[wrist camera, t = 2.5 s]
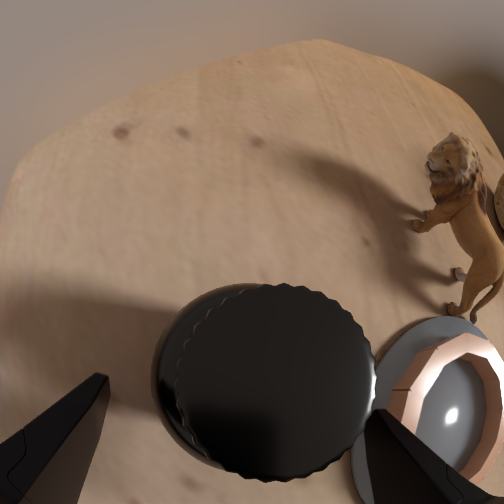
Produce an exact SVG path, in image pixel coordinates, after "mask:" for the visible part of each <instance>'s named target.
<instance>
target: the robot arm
mask: <svg viewBox="0 0 504 504" xmlns="http://www.w3.org/2000/svg"><path fill="white" fill-rule="evenodd" d="M109 399H110V383H109V377H108V375H106V374H102V373H99V372H96V373H94V374H93V375H91V376H90V377H89V378H88V379H86V380H85V381H84V382H82V383H81V384H80V385H78V386H77V387H76V388H74V389H73V390H72V391H70V392H69V393H68V394H67V395H65V396H64V397H63V398H61V399H60V400H59V401H57V402H56V403H55V404H53V405H52V406H51V407H50V408H48V409H47V410H46V411H44V412H43V413H42V414H40V415H39V416H38V417H36V418H35V419H34V420H33V421H31V422H30V423H29V424H27V425H26V426H25V427H24V428H23V429H21V430H19V431H18V432H17V433H15V434H14V435H13V436H11V437H10V438H8V439H7V440H5V441H4V442H2V443H1V444H0V504H77V502H78V499H79V496H80V493H81V490H82V487H83V484H84V481H85V478H86V475H87V472H88V469H89V467H90V464H91V461H92V458H93V455H94V452H95V450H96V447H97V444H98V442H99V439H100V435H101V431H102V427H103V423H104V419H105V415H106V411H107V407H108V403H109ZM364 441H365V451H366V461H367V467H368V472H369V477H370V482H371V488H372V493H373V498H374V504H504V497H497V496H493V495H490V494H488V493H486V492H485V491H483V490H482V489H480V488H479V487H478V486H476V485H475V484H473V483H472V482H470V481H469V480H467V479H466V478H465V477H463V476H462V475H461V474H459V473H458V472H457V471H456V470H454V469H453V468H452V467H451V466H450V465H449V464H447V463H446V462H445V461H444V460H443V459H442V458H440V457H439V456H438V455H437V454H436V453H435V452H434V451H432V450H431V449H430V448H429V447H428V446H427V445H426V444H424V443H423V442H422V441H421V440H420V439H419V438H418V437H417V436H415V435H414V434H413V433H412V432H411V431H410V430H409V429H407V428H406V427H405V426H404V425H403V424H402V423H401V422H400V421H399V420H397V419H396V418H395V417H394V416H393V415H392V414H391V413H390V412H389V411H387V410H386V409H384V408H378V409H374V410H373V411H372V414H371V416H370V417H369V419H368V420H367V421H366V425H365V429H364Z"/></svg>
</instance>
